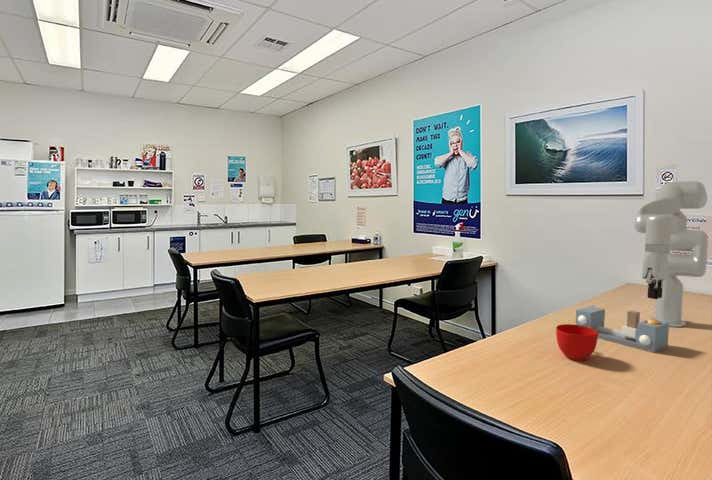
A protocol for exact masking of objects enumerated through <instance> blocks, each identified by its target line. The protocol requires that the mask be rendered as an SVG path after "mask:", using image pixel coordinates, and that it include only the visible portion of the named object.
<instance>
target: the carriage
mask: <svg viewBox="0 0 712 480" xmlns="http://www.w3.org/2000/svg"><path fill="white" fill-rule="evenodd" d="M640 315H641V312H640V311H637V310H628V311H627V315H626V316H627V317H626V324H625V325H622V326H621V327H620V328H621V329H620V331H621V334H622V336H623V337H627V338H631V339H635V340H636V334H637V323H640V319H641V318H640Z"/></svg>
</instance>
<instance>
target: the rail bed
mask: <svg viewBox="0 0 712 480" xmlns="http://www.w3.org/2000/svg"><path fill="white" fill-rule="evenodd" d="M605 313H606V308H600V307H596V306H591V305H590V306H586V307H583V308H582V307H581V308H579V309H576V311H575V325H581V326H586V327H589V328H592V329H595V330H596V331H597V332H598V339H600V340H603V341H604V340H605V341H609V342H612V343H615V344H620V345H623V346H627V347H630V348H634V349H637V350H642V351H645V352H649V353H654V354H655V353H657V352H660V351H662V350H664V349H666V348H668V345H669V331H670V326H669V322H664V321H659V325H653V324H649V323H647V320H643V321H639V323H637V334H636V340H635V339H631V338H627V337H623V336H622V334H621V330H615V329H613V328H608V327H605V319H606V318H605V315H606V314H605Z"/></svg>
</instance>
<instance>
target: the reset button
mask: <svg viewBox="0 0 712 480" xmlns="http://www.w3.org/2000/svg"><path fill="white" fill-rule="evenodd" d="M647 323H649V324H653V325H659V320H655V319H650V318H648V319H647Z"/></svg>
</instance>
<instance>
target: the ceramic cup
mask: <svg viewBox="0 0 712 480" xmlns="http://www.w3.org/2000/svg"><path fill="white" fill-rule="evenodd" d="M555 332H556V333H555V335H556V343H557V345H558V347H559V350H560V351H561V352H562V354H563V355H564V357H566V358H568V359H570V360H572V361H579V362H580V361H585V360H587V359H588V358H590V357H591V356H592V354H593V353H594V352H595V350H596V346H597V344H598V339H599V338H598V332H597V331H596V330H595V329H592V328H589V327H586V326H581V325H576V324H573V323H572V324H571V323H569V324H567V323H563V324H560V325H559V324H558V325H557V326H556V327H555Z"/></svg>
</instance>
